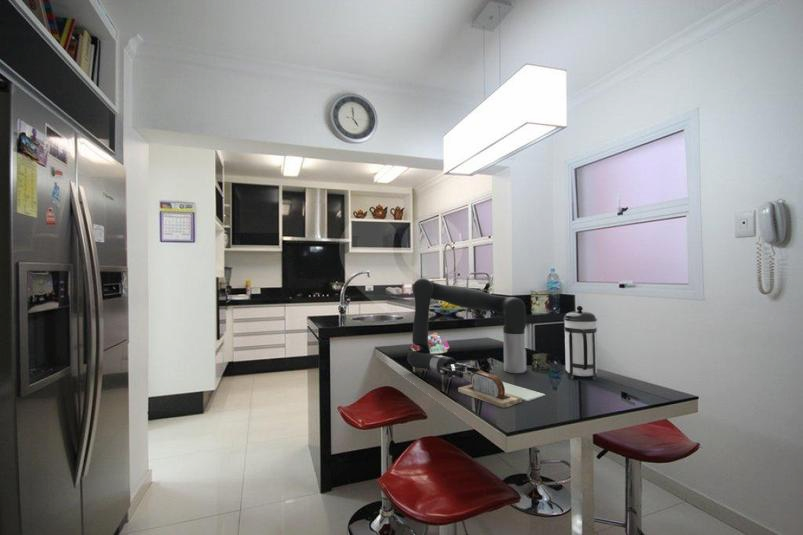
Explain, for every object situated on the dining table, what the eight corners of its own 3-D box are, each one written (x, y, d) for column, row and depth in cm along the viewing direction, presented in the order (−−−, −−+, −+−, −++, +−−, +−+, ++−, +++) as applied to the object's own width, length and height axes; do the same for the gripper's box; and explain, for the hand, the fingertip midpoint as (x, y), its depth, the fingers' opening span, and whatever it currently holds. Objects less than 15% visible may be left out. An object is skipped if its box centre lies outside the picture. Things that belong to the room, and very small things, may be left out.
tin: (505, 402, 128) (505, 377, 129) (499, 403, 127) (498, 379, 127) (476, 390, 141) (475, 368, 142) (469, 392, 140) (469, 369, 140)
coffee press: (552, 374, 162) (551, 305, 162) (579, 370, 168) (577, 303, 169) (586, 385, 146) (584, 308, 146) (614, 380, 152) (612, 306, 153)
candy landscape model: (405, 347, 228) (404, 332, 228) (440, 344, 235) (440, 330, 235) (419, 355, 204) (418, 338, 204) (458, 352, 211) (457, 336, 211)
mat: (497, 381, 152) (497, 380, 152) (545, 395, 134) (545, 394, 134) (480, 386, 147) (480, 384, 147) (527, 401, 129) (527, 399, 129)
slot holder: (476, 387, 146) (475, 383, 146) (521, 402, 128) (521, 397, 128) (458, 391, 140) (458, 387, 140) (503, 408, 123) (503, 403, 123)
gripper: (429, 358, 151) (456, 366, 137) (455, 353, 159) (483, 360, 145) (429, 377, 151) (457, 386, 137) (455, 371, 159) (484, 380, 145)
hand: (470, 373), depth 141 cm, fingers open, 8 cm apart
